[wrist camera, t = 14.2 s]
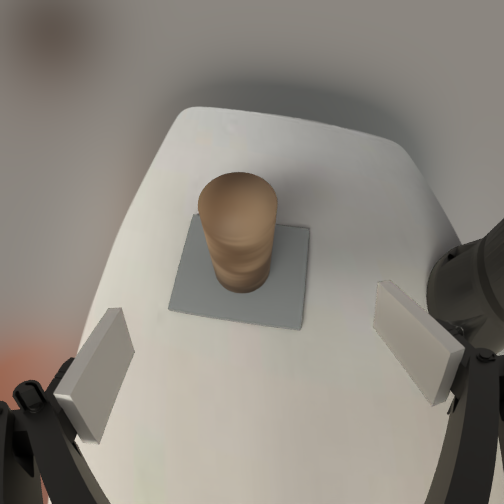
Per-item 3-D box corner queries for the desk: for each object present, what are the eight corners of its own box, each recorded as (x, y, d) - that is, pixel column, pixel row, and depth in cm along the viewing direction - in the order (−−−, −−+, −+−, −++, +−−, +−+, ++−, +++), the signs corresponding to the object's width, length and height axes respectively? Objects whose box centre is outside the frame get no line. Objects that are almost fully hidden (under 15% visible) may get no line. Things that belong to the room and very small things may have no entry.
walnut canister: (272, 246, 35) (281, 176, 24) (265, 297, 32) (272, 241, 22) (220, 240, 35) (207, 169, 25) (209, 289, 33) (189, 230, 22)
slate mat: (308, 231, 37) (309, 228, 36) (300, 330, 31) (300, 328, 31) (194, 217, 38) (193, 214, 37) (169, 310, 32) (168, 308, 32)
